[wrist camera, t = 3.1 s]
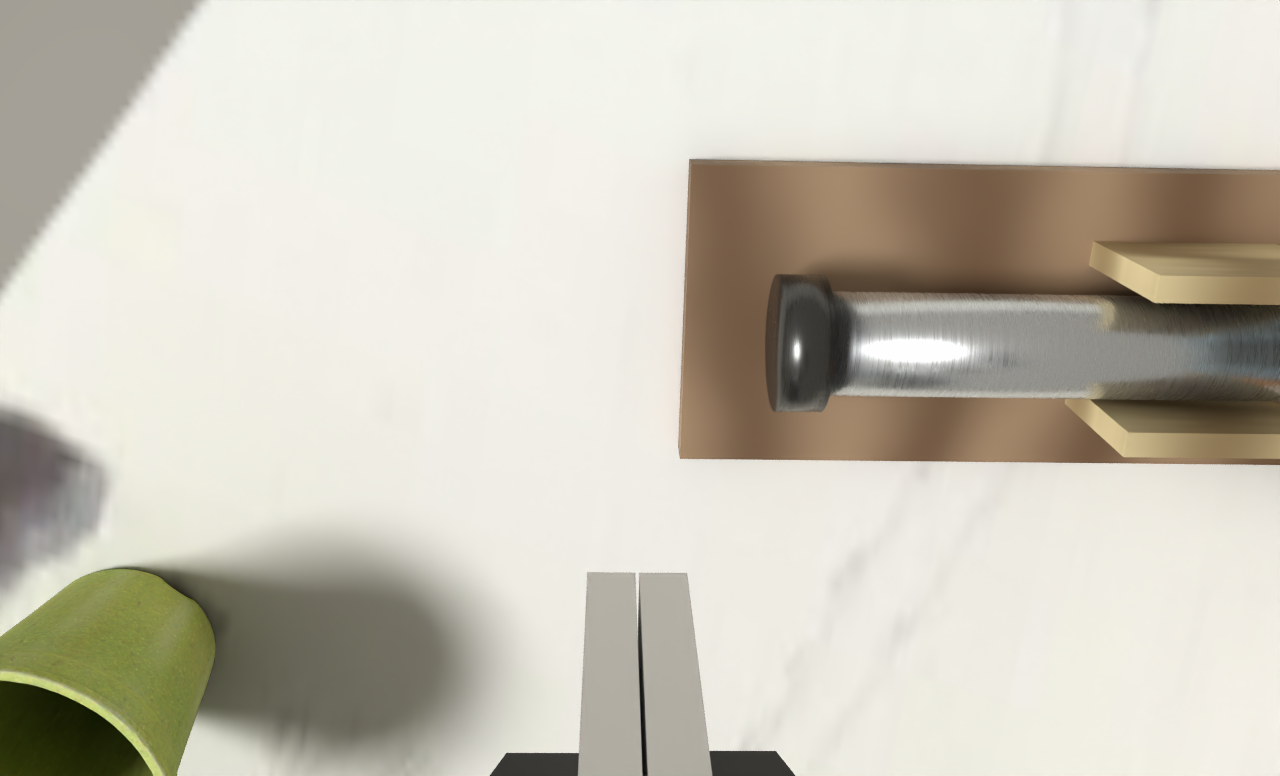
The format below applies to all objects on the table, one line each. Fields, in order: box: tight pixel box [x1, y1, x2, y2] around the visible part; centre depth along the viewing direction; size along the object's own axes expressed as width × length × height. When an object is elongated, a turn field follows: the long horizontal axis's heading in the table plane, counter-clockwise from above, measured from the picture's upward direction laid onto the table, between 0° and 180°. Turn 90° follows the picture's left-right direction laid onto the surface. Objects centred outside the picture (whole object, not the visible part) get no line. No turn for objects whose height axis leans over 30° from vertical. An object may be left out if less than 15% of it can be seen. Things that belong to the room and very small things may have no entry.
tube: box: [765, 274, 1280, 412], centre depth 32 cm, size 18×4×4 cm, turn 89°
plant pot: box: [0, 569, 216, 776], centre depth 35 cm, size 9×9×9 cm
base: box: [678, 159, 1280, 465], centre depth 32 cm, size 30×10×8 cm, turn 89°
